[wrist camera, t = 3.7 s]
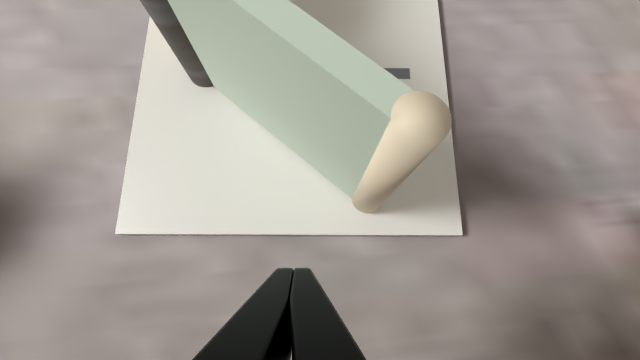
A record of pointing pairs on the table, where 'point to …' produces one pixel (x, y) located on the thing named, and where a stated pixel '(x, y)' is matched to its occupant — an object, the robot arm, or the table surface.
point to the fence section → (177, 40)
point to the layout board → (279, 145)
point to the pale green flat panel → (316, 93)
